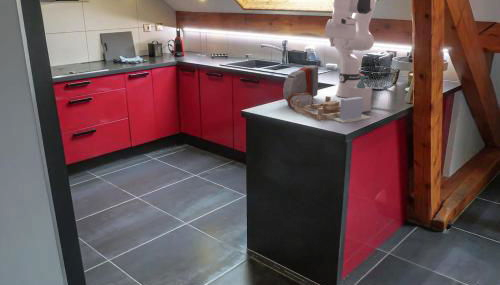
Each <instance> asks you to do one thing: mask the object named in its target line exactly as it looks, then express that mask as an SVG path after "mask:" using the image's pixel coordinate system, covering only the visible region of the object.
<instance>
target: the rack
mask: <svg viewBox="0 0 500 285" xmlns="http://www.w3.org/2000/svg"><path fill="white" fill-rule="evenodd" d="M331 99H332V97H331V96H330V95H327V96H325V99H324V102H322V103H313V104H312V105H306V106H300V102H301V101H300V100H295V109H294V112H295V113H299V114H302V115H303V116H306V117H309V118H312V119H315V120H316V121H319V122H322V121H321V120H323V121H327V120H333V118H339V116H340V112H338V113H331V114H326V113H323V110H324V109H323V108H320V107H321V106H323V103H326V102H330V101H332V100H331ZM339 108H340V105H339ZM313 110H317V113H316V112H313Z"/></svg>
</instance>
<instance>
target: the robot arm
mask: <svg viewBox="0 0 500 285" xmlns="http://www.w3.org/2000/svg"><path fill="white" fill-rule="evenodd" d="M377 1H379V0H333V3H332V5H333V11H332V14H331V15H332V16H331V18H329V19H328V20H327V22H326V24H325V28H324V36H325V38H329V42H330V47H332V48H333V47H334V48H335V49H336V50H337V51H338V54H339V57H340V72H339V75H338V76H339V78H338V79H339V81H338V84H337V85H338V86H337V89H336V90H337V91H336V94H335V95H336V96H337V97H340V98H344V99H346V98H349V87H350V86H355V85H357V84H358V83H359V81H360V76H359V75H363V76H365V75H364V73H360V66H361V60H360V59H359V58H358V57H357V56H356V55H355V54H354V51H358V52H359V51H360V52H364V51H370V50H371V49H372V47H374V42H375V40H374V39H375V38H374V36H373V35H372V33H371V32H370V29H369V28H370V22H371V20H372V16H373V14H374V12H375V8H376V2H377ZM351 14H352V16H351ZM364 84H365V86H368V85H367V84H366V83H365V82H364Z"/></svg>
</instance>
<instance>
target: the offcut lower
mask: <svg viewBox="0 0 500 285" xmlns="http://www.w3.org/2000/svg"><path fill="white" fill-rule="evenodd" d="M320 108H323V106H321V107H320ZM338 112H340V108H335V109H332V110H326V109H324V110H323V114H331V113H338Z"/></svg>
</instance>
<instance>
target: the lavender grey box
mask: <svg viewBox="0 0 500 285" xmlns="http://www.w3.org/2000/svg"><path fill="white" fill-rule="evenodd" d="M339 106H340V116H339V119H341V120H348V119H355V118H361V117H362V115H363V112H362V107H363V98H362V97H354V98H341V99H340V104H339Z"/></svg>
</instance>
